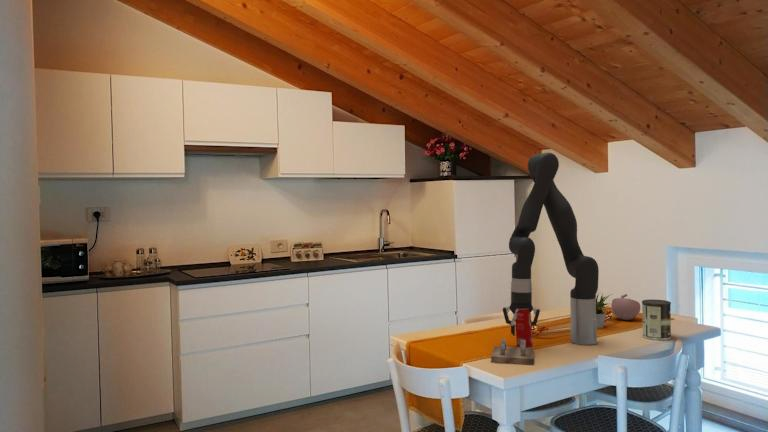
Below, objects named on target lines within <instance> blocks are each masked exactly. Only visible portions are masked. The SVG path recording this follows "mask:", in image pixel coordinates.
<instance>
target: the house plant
mask: <svg viewBox="0 0 768 432" xmlns="http://www.w3.org/2000/svg"><path fill="white" fill-rule="evenodd" d="M600 294H601V292H597V293H596V319H597V329H604V326H605V321H606V314H607V313H606V312H605V310H606V308H608V307H609V305H608V303H604V302H605V301H606V300H607V299H608V298H609V297H610V296H611V295H613V293H610V294H609V295H605V296H604V293H602V294H601V296H600V299H598V298H599V295H600ZM598 300H599V301H598Z"/></svg>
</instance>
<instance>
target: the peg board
mask: <svg viewBox="0 0 768 432" xmlns="http://www.w3.org/2000/svg"><path fill="white" fill-rule="evenodd" d="M490 358H491V359H490V363H491V362H497V363H496V364H509V363H514V365H530V366H534V365H535V364H534V363H535V347H532V348H526V340H521V345H520V347H517V346H515V347H513V346H507V339H506V338H502V339H501V343H499V346H496V345H495V346H494V347H493V350H492V352H491V355H490Z"/></svg>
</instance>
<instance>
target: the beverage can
mask: <svg viewBox="0 0 768 432" xmlns="http://www.w3.org/2000/svg"><path fill="white" fill-rule="evenodd" d="M531 314H532V312H531V313H530V311H529V309H518V312H517V318H516V320H515V323H514V324H515V336H516V337H515V339H516V347H520V345H521V340H526V348H533V346H534V345H533V344H534V343H533V329H532V328H533V326H532V327H530V322H532V315H531Z"/></svg>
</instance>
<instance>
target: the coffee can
mask: <svg viewBox="0 0 768 432" xmlns="http://www.w3.org/2000/svg"><path fill="white" fill-rule="evenodd" d="M641 304H642V305H641V310H642V314H641V315H642V337H643V338H644V339H648V340H652V341H669V340H671V339H672V329H671V328H672V325H671V322H672V319H671V317H672V313H671V312H672V310H671V309H672V308H671V304H672V302H671V301H669V300H666V299H663V300H662V299H643V300H641Z"/></svg>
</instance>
